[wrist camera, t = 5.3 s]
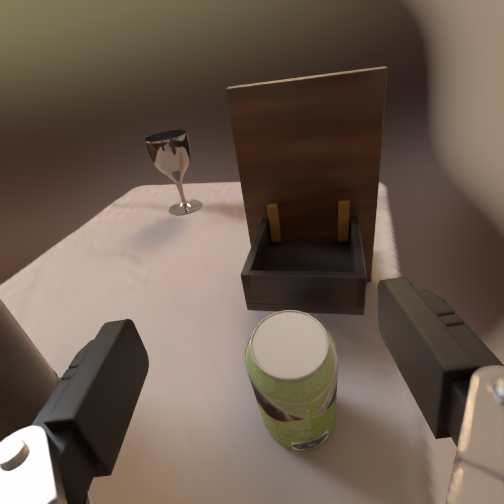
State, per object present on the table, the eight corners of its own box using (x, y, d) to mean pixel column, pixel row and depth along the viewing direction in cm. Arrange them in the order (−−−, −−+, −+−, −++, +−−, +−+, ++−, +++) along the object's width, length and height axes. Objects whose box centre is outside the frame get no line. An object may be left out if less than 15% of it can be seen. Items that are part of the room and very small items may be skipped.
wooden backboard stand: (381, 352, 32) (414, 85, 19) (237, 342, 36) (182, 112, 23) (365, 249, 47) (378, 61, 34) (265, 250, 51) (241, 79, 38)
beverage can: (325, 383, 30) (323, 283, 24) (349, 470, 24) (355, 367, 18) (259, 391, 30) (239, 295, 24) (266, 480, 24) (241, 382, 18)
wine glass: (200, 213, 66) (181, 138, 57) (162, 217, 66) (138, 143, 58) (206, 197, 72) (190, 127, 64) (172, 201, 73) (152, 133, 65)
